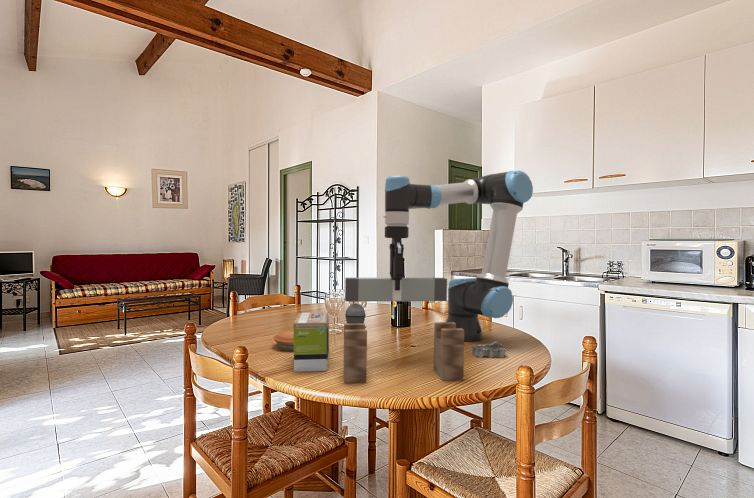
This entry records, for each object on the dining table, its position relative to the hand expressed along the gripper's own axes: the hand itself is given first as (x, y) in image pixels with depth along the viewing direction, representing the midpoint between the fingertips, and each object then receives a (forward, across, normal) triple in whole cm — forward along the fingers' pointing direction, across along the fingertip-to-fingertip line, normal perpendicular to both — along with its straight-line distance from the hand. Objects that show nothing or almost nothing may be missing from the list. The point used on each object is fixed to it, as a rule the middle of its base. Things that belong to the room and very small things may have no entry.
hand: (395, 299), depth 131 cm
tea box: (+20, +2, -26) cm, 33 cm away
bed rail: (0, 0, 0) cm, 0 cm away
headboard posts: (+20, +14, 0) cm, 24 cm away
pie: (+20, -18, -33) cm, 43 cm away
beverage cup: (+20, -15, -12) cm, 28 cm away
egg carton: (+20, -4, +32) cm, 38 cm away
